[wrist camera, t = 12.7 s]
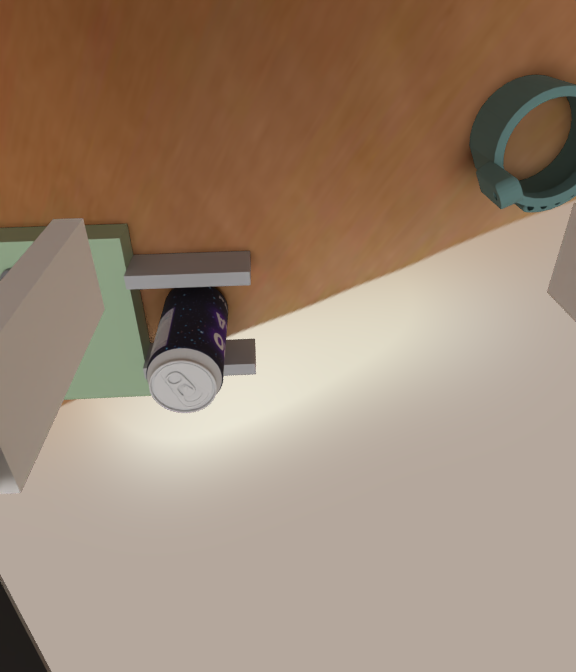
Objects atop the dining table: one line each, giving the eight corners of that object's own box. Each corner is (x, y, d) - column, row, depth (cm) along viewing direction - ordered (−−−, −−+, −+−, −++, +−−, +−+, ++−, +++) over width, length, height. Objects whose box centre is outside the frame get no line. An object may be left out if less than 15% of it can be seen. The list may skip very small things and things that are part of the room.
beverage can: (193, 340, 50) (178, 428, 40) (152, 298, 47) (126, 381, 37) (240, 310, 49) (237, 394, 39) (202, 265, 46) (188, 343, 36)
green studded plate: (-21, 228, 43) (-45, 248, 39) (248, 219, 44) (247, 239, 40) (34, 381, 52) (19, 408, 48) (256, 371, 53) (257, 397, 49)
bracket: (445, 164, 42) (487, 204, 35) (518, 47, 38) (583, 63, 30) (531, 207, 45) (587, 253, 37) (609, 102, 40) (690, 130, 33)
